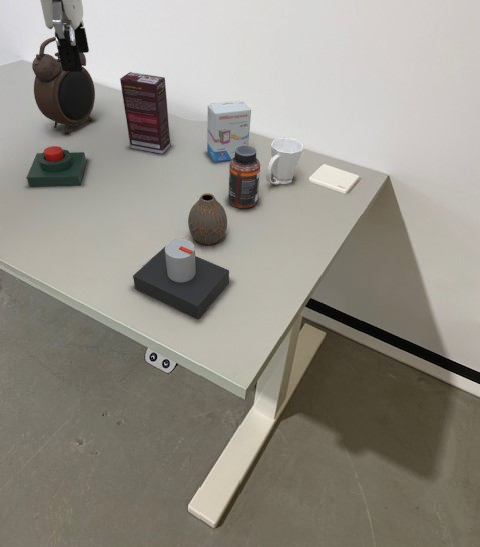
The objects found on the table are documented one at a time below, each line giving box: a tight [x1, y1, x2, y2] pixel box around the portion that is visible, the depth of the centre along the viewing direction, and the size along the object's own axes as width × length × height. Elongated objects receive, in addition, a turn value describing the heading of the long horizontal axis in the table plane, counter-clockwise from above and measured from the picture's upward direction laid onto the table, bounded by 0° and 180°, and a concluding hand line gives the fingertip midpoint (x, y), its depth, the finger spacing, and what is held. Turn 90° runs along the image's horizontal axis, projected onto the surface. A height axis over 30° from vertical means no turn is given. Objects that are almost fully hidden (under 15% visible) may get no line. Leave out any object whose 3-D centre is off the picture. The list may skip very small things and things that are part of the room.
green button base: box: [25, 148, 87, 188], centre depth 88 cm, size 10×10×4 cm
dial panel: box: [132, 245, 230, 320], centre depth 66 cm, size 12×9×3 cm
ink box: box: [206, 100, 252, 163], centre depth 95 cm, size 9×5×12 cm, turn 112°
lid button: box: [43, 145, 64, 161], centre depth 87 cm, size 4×4×2 cm
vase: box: [187, 192, 228, 245], centre depth 73 cm, size 7×7×9 cm
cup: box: [265, 137, 305, 185], centre depth 89 cm, size 7×10×8 cm
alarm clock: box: [31, 36, 96, 134], centre depth 99 cm, size 15×7×20 cm, turn 154°
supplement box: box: [119, 71, 171, 155], centre depth 94 cm, size 9×5×16 cm, turn 73°
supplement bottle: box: [228, 145, 261, 209], centre depth 81 cm, size 6×6×11 cm
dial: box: [164, 238, 196, 283], centre depth 63 cm, size 4×4×5 cm
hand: (76, 61), depth 75 cm, fingers open, 9 cm apart
